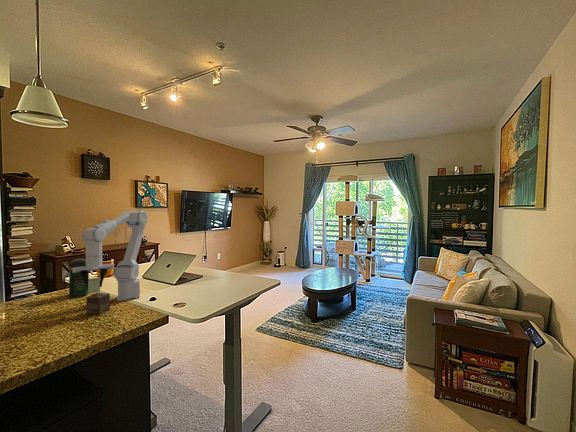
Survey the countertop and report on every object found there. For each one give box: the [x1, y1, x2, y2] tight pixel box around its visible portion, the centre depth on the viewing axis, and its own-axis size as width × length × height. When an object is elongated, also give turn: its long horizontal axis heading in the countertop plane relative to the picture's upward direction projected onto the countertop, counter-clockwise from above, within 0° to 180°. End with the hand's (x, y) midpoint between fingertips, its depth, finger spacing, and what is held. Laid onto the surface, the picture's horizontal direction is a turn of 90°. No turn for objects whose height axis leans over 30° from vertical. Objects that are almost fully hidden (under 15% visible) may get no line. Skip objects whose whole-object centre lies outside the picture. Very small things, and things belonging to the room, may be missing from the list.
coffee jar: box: [68, 257, 90, 298], centre depth 139 cm, size 10×8×19 cm
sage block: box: [88, 277, 101, 294], centre depth 117 cm, size 4×4×5 cm
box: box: [85, 292, 111, 316], centre depth 116 cm, size 6×6×7 cm
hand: (94, 287), depth 117 cm, fingers closed on sage block, 4 cm apart
